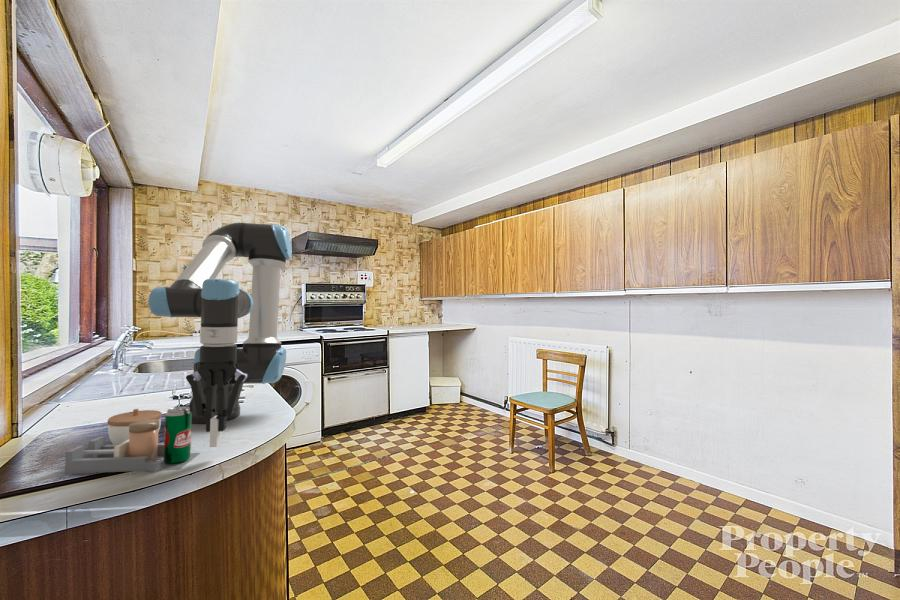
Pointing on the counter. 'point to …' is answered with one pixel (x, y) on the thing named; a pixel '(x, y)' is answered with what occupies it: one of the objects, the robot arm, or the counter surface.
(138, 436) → the jar
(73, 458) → the grey divided tray
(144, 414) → the lidded jar
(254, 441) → the counter surface
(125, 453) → the pusher
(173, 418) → the soda can
